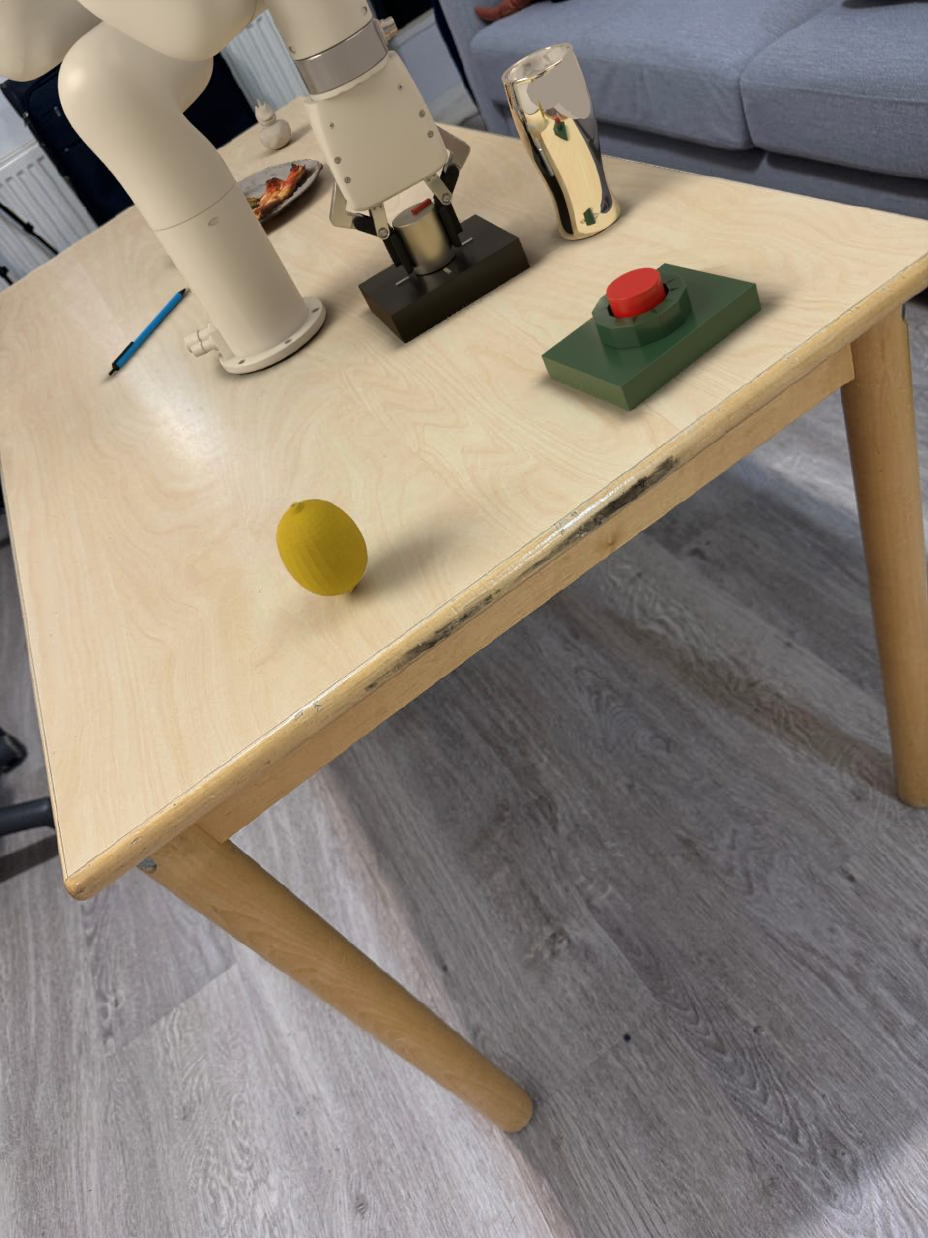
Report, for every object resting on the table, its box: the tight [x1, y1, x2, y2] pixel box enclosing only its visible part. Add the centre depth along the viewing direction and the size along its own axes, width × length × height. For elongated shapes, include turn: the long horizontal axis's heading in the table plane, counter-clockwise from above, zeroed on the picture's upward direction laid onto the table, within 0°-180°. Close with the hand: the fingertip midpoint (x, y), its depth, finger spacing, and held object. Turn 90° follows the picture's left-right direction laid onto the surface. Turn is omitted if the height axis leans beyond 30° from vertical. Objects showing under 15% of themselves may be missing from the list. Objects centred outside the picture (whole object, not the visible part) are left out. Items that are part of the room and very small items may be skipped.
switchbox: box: [541, 262, 762, 412], centre depth 73 cm, size 13×10×4 cm
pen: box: [108, 287, 187, 377], centre depth 124 cm, size 1×19×1 cm, turn 160°
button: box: [605, 267, 666, 318], centre depth 72 cm, size 4×4×2 cm
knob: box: [391, 197, 455, 275], centre depth 93 cm, size 4×4×5 cm
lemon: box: [275, 498, 369, 597], centre depth 66 cm, size 6×6×8 cm
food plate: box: [236, 158, 324, 225], centre depth 141 cm, size 25×23×4 cm
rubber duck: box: [254, 98, 292, 150], centre depth 161 cm, size 5×7×8 cm
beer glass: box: [500, 42, 622, 241], centre depth 89 cm, size 7×7×15 cm
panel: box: [357, 213, 531, 344], centre depth 96 cm, size 14×11×3 cm
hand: (431, 254), depth 94 cm, fingers closed on knob, 4 cm apart
